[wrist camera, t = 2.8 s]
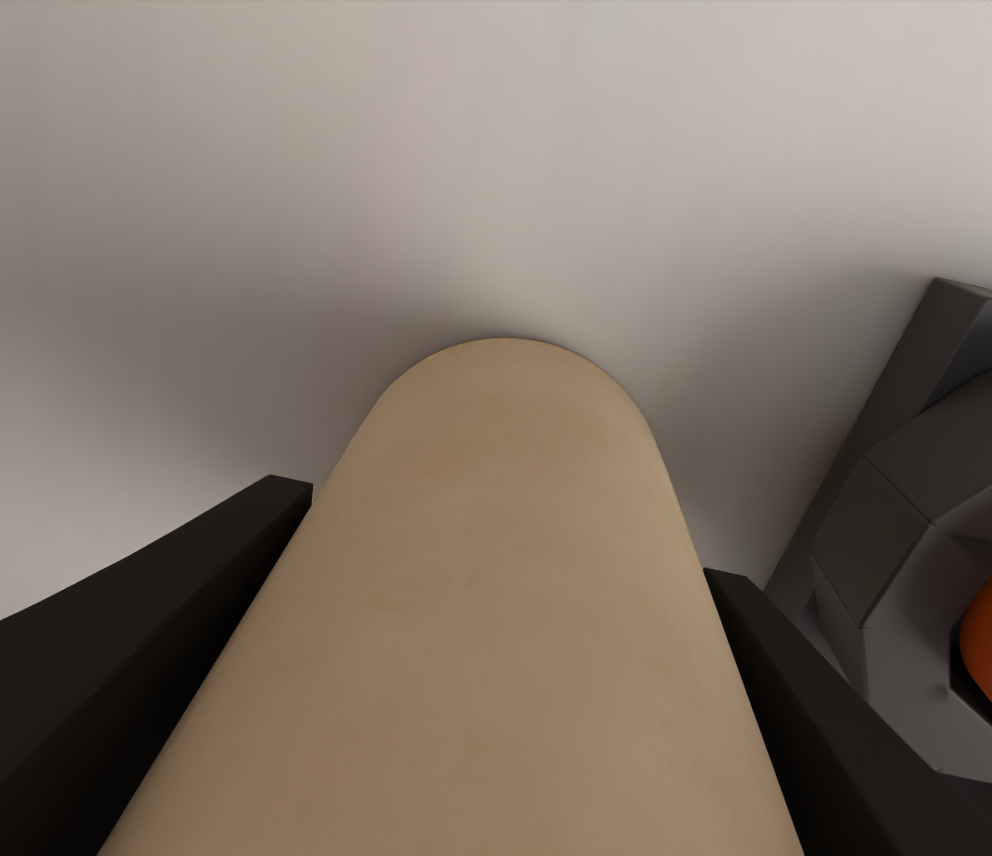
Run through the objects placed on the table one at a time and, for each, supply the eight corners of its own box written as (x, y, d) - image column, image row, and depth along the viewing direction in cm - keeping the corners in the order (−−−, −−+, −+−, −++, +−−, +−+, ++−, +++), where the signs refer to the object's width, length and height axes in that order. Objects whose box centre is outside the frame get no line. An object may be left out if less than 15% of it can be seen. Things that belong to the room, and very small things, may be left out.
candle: (418, 278, 10) (-1119, 2132, 1) (718, 410, 10) (1846, 2248, 1) (325, 530, 12) (-293, 1680, 3) (573, 624, 13) (643, 1800, 4)
